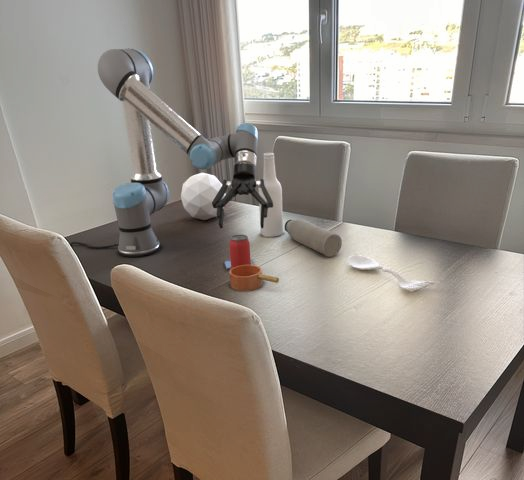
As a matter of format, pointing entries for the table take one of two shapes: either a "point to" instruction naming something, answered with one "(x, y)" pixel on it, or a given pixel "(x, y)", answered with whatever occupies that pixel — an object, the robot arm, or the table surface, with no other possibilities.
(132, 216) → the robot arm
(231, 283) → the pan
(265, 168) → the alcohol
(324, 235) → the thermos bottle
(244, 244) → the beer can
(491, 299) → the table surface
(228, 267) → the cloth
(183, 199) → the geometric orb
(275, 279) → the pan handle
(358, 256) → the spoon
